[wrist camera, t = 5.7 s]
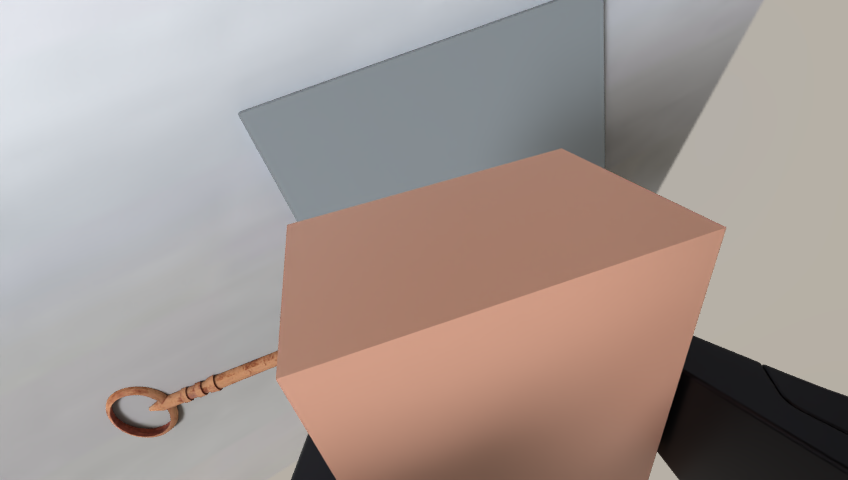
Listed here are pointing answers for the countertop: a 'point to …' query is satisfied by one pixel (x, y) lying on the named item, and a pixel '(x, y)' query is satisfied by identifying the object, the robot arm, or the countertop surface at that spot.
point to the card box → (494, 325)
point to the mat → (441, 111)
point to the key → (185, 394)
